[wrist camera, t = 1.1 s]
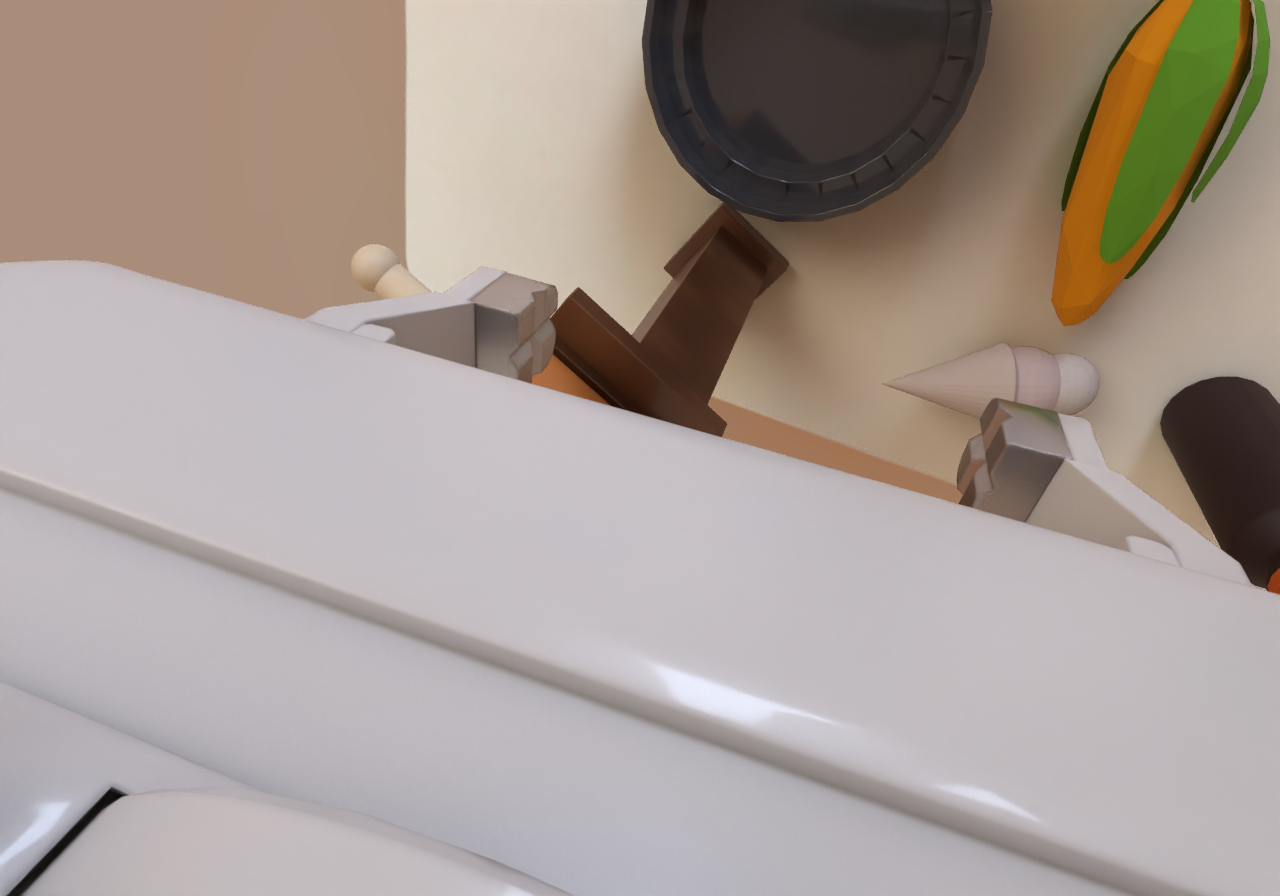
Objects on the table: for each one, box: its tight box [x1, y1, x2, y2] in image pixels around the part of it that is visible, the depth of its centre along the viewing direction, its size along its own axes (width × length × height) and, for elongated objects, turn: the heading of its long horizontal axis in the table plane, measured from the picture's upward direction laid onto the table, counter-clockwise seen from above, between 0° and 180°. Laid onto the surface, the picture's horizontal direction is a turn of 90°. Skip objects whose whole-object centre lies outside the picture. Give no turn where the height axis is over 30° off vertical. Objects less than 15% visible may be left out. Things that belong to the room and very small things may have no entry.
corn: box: [1052, 0, 1270, 326], centre depth 42 cm, size 7×8×20 cm
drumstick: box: [351, 244, 610, 406], centre depth 33 cm, size 15×5×5 cm, turn 51°
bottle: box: [1160, 377, 1280, 594], centre depth 44 cm, size 7×7×20 cm
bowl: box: [642, 0, 992, 222], centre depth 44 cm, size 20×20×6 cm
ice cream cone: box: [883, 343, 1099, 419], centre depth 52 cm, size 6×6×15 cm
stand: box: [550, 202, 789, 437], centre depth 46 cm, size 10×8×27 cm
